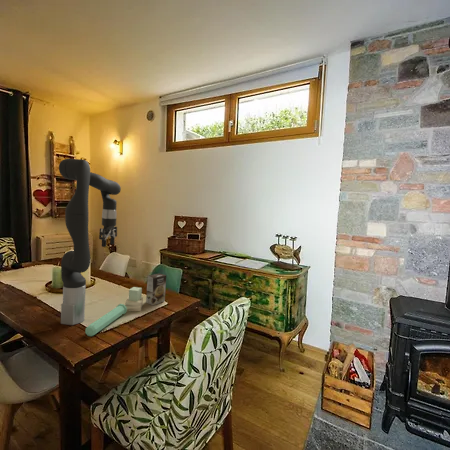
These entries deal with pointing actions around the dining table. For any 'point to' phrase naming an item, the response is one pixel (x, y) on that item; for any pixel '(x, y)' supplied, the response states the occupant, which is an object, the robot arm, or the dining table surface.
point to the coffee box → (156, 289)
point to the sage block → (135, 294)
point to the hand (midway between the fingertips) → (108, 245)
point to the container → (105, 320)
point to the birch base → (134, 305)
